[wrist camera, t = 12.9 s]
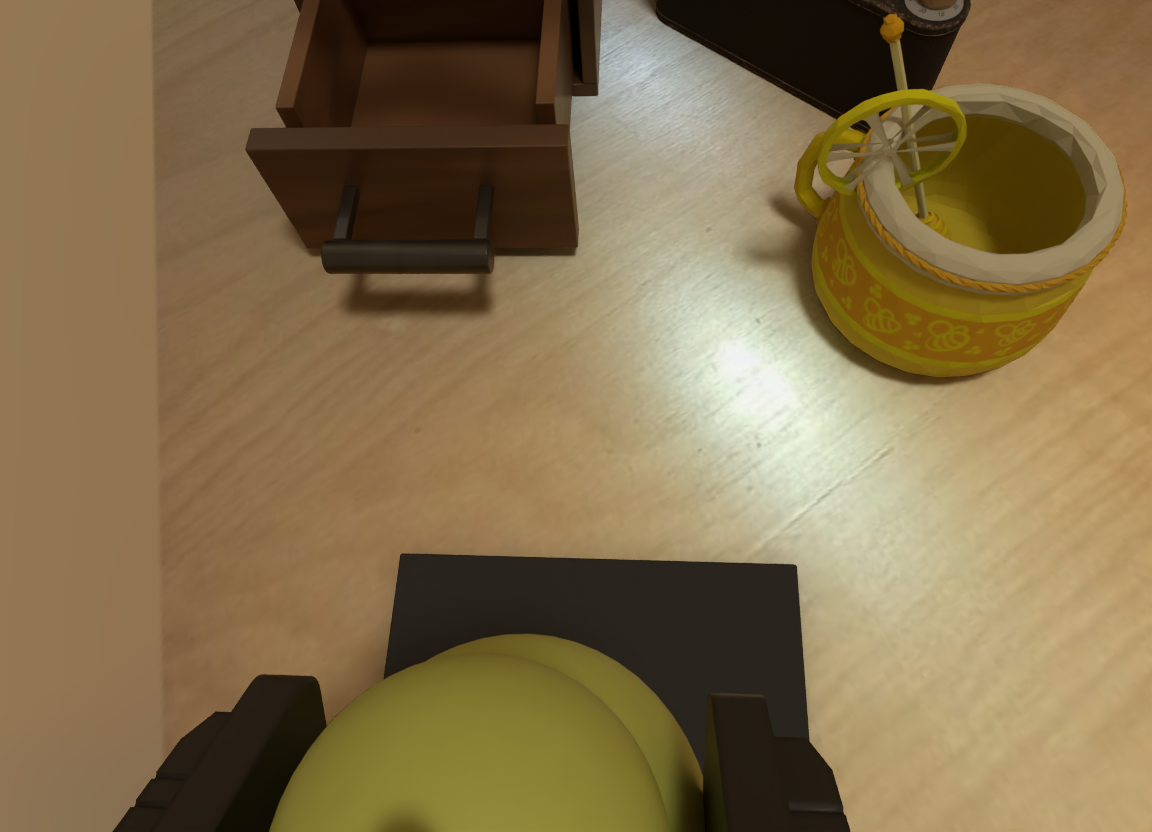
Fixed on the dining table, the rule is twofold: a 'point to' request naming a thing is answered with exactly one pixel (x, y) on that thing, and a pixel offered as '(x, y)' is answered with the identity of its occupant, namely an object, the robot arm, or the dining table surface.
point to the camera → (825, 43)
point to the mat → (622, 623)
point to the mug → (957, 221)
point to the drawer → (425, 133)
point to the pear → (500, 749)
